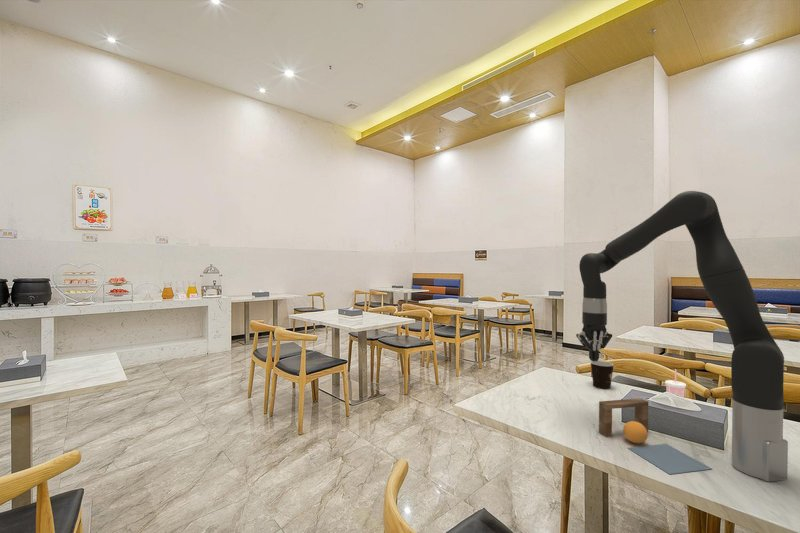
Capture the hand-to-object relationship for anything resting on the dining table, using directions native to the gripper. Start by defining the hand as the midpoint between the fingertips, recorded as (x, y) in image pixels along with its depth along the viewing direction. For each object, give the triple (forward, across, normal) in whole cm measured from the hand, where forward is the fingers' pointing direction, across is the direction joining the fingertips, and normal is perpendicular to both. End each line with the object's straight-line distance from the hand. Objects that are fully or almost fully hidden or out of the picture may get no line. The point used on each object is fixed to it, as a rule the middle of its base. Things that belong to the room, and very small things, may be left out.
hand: (594, 360), depth 125 cm
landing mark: (+19, 0, -28) cm, 34 cm away
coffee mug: (+19, +23, +25) cm, 39 cm away
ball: (+16, -1, -19) cm, 25 cm away
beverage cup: (+19, +35, +1) cm, 40 cm away
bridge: (+19, 0, -13) cm, 23 cm away
